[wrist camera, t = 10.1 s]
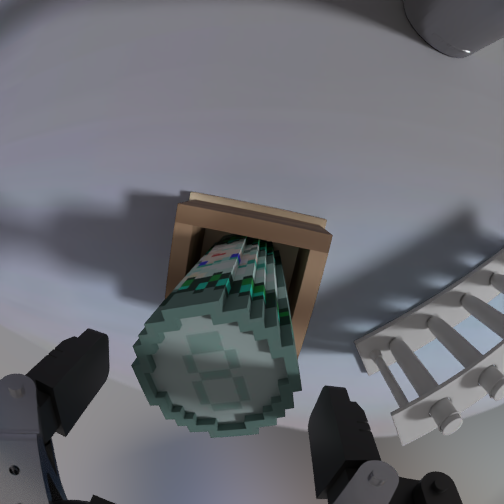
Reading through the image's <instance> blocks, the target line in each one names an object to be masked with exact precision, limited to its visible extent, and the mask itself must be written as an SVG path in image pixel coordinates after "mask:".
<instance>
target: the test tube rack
mask: <svg viewBox="0 0 504 504" xmlns="http://www.w3.org/2000/svg"><path fill="white" fill-rule="evenodd" d="M500 293H503V294H504V248H503V249H501V250H500V251H499V252H497V253H496V254H495V255H493V256H492V257H491V258H489V259H488V260H487V261H485V262H484V263H483V264H481V265H480V266H478V267H477V268H476V269H474V270H473V271H471V272H470V273H468V274H467V275H466V276H464V277H463V278H461V279H460V280H458V281H457V282H455V283H454V284H452V285H451V286H449V287H448V288H446V289H444V290H443V291H441V292H440V293H438V294H437V295H435V296H433V297H432V298H430V299H429V300H427V301H425V302H424V303H422V304H420V305H419V306H417V307H415V308H414V309H412V310H410V311H409V312H407V313H405V314H403V315H402V316H400V317H398V318H396V319H395V320H393V321H391V322H389V323H387V324H386V325H384V326H382V327H380V328H378V329H376V330H374V331H373V332H371V333H369V334H367V335H365V336H363V337H361V338H359V339H357V340H355V341H354V343H355V346H356V348H357V350H358V352H359V355H360V357H361V359H362V362H363V364H364V367H365V369H366V371H367V373H368V375H369V376H370V375H372V374H374V373H376V372H378V371H380V372H381V374H382V375H383V377H384V379H385V381H386V383H387V385H388V386H389V388H390V390H391V392H392V394H393V396H394V398H395V399H396V401H397V403H398V405H399V407H400V408H398V409H396V410H395V411H393V412H391V416H392V419H393V421H394V424H395V427H396V430H397V433H398V436H399V439H400V441H401V444H402V446H404V445H406V444H408V443H410V442H412V441H414V440H415V439H418V438H419V437H421V436H423V435H425V434H427V433H428V432H430V431H432V430H434V429H435V428H437V427H438V429H439V431H440V432H442V433H443V434H444V435H449V434H452V433H453V432H455V431H456V430H457V429H459V427H460V426H461V425H462V423H463V419H462V418H461V414H460V413H461V412H463V411H464V410H466V409H467V408H469V407H470V406H472V405H473V404H474V403H476V402H477V401H479V400H480V399H481V398H483V397H484V396H486V395H487V394H489V396H490V398H494V400H495V401H498V400H500V399H502V398H503V397H504V340H502V341H501V342H500V343H499V344H497V345H496V346H495V347H493V348H492V349H491V350H490V351H488V352H487V353H486V354H484V355H482V354H481V353H480V352H479V351H478V350H477V349H476V348H475V347H474V346H472V345H471V344H470V343H469V342H468V341H467V340H466V339H465V338H464V337H462V336H461V335H460V334H459V333H458V332H457V331H456V330H455V329H453V327H454V326H456V325H457V324H459V323H460V322H462V321H463V320H465V319H466V318H468V317H469V316H470V315H472V316H474V317H475V318H476V319H478V320H479V321H480V322H482V323H483V324H484V325H486V326H487V327H488V328H490V329H491V330H492V331H493V332H495V333H496V334H497V335H499V336H500V337H501V338H502V339H504V314H502V313H501V312H499V311H497V310H496V309H494V308H493V307H491V306H490V305H488V304H487V303H488V302H489V301H491V300H492V299H493V298H495V297H496V296H497V295H498V294H500ZM436 338H437V339H438V340H439V341H440V342H441V343H442V344H443V345H444V346H445V347H446V348H447V349H448V351H449V352H450V353H451V354H452V355H453V356H454V357H455V358H456V359H457V360H458V361H459V362H460V363H461V364H462V365H463V366H464V367H465V369H463V370H462V371H460V372H459V373H457V374H456V375H454V376H453V377H451V378H450V379H448V380H447V381H445V382H444V383H442V384H440V385H438V384H437V382H436V381H435V380H434V378H433V377H432V376H431V374H430V373H429V372H428V370H427V369H426V368H425V367H424V365H423V364H422V363H421V361H420V360H419V359H418V358H417V356H416V355H415V354H414V351H416V350H418V349H420V348H421V347H423V346H425V345H426V344H428V343H429V342H431V341H433V340H434V339H436ZM395 362H397V363H398V364H399V366H400V367H401V369H402V370H403V372H404V373H405V375H406V376H407V378H408V380H409V381H410V383H411V384H412V386H413V387H414V389H415V390H416V392H417V394H418V395H419V398H417V399H415V400H413V401H411V402H410V403H409V402H408V400H407V398H406V397H405V395H404V393H403V391H402V390H401V388H400V386H399V385H398V383H397V381H396V380H395V378H394V376H393V375H392V373H391V371H390V370H389V368H388V366H389V365H391V364H393V363H395ZM493 364H494V365H495V366H494V365H493ZM479 384H480V385H479ZM448 398H449V399H450V400H449V399H448ZM429 413H430V414H431V415H430V414H429Z"/></svg>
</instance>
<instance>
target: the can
mask: <svg viewBox="0 0 504 504" xmlns="http://www.w3.org/2000/svg"><path fill="white" fill-rule="evenodd" d="M144 325H145V328H144V329H143V330H142V331H141V333H140V334H139V335H138V336H139V339H138V340H137V341H136V343H135V344H134V345H133V348H134V351H135V353H136V356H137V358H136V359H135V361H134V362H133V364H132V365H131V366H132V368H133V370H134V372H135V375H136V377H137V379H138V381H139V383H140V385H141V388H142V390H143V392H144V394H145V396H146V398H147V400H148V402H149V404H150V405H159V407H160V409H161V411H162V413H163V415H164V417H165V419H175V421H176V423H177V425H178V426H187V427H188V429H189V431H190V432H207V431H208V432H209V434H210V436H211V438H214V437H228V436H242V435H252V434H259V427H264V426H273V425H277V418H280V417H285V409H290V408H294V401H293V392H296V391H302V387H301V380H300V373H299V366H298V359H297V352H296V346H295V339H294V333H293V326H292V320H291V314H290V307H289V301H288V295H287V289H286V283H285V277H284V271H283V267H282V262H281V257H280V252H279V250H277V251H274V248H273V243H272V241H270V242H267V240H262V239H257V238H252V237H247V236H243V235H238V234H229V235H225V236H223V237H222V238H221V240H220V241H219V242H216V243H214V245H213V246H212V247H211V248H210V249H209V250H208V251H207V252H206V254H205V255H204V256H203V257H202V258H201V259H200V260H199V261H198V263H197V264H196V265H195V266H194V267H193V268H192V269H191V270H190V272H189V273H188V274H187V275H186V276H185V277H184V278H183V280H182V281H181V282H180V283H179V284H178V285H177V286H176V288H175V289H174V290H173V291H172V292H171V293H170V294H169V296H168V297H167V298H166V299H165V300H164V301H163V303H162V304H161V305H160V306H159V307H158V308H157V310H156V311H155V312H154V313H153V314H152V315H151V317H150V318H149V319H148V320H147V321H146V322H145V324H144Z"/></svg>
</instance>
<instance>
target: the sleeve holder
mask: <svg viewBox="0 0 504 504" xmlns="http://www.w3.org/2000/svg"><path fill="white" fill-rule="evenodd" d="M326 222H327V220H326V219H323V218H319V217H314V216H310V215H305V214H301V213H297V212H292V211H287V210H283V209H278V208H273V207H269V206H264V205H259V204H254V203H249V202H244V201H239V200H234V199H229V198H224V197H219V196H213V195H208V194H203V193H197V192H191V193H190V199H189V201H187V202H182V203H178V206H177V213H176V219H175V225H174V232H173V238H172V245H171V253H170V260H169V268H168V276H167V284H166V293H165V299H166V298H167V297H168V296H169V294H170V293H171V292H172V291H173V290H174V289H175V288H176V286H177V285H178V284H179V283H180V282H181V281H182V280H183V278H184V277H185V276H186V275H187V274H188V273H189V272H190V270H191V269H192V268H193V267H194V266H195V265H196V264H197V263H198V261H199V260H200V259H201V258H202V257H203V256H204V255H205V254H206V252H207V251H208V250H209V249H210V248H211V247H212V246H213V245H214V243H216V242H219V241H220V240H221V238H222V237H223V236H225V235H229V234H238V235H243V236H247V237H252V238H257V239H262V240H267V242H270V241H272V243H273V248H274V251H277V250H279V252H280V257H281V262H282V267H283V271H284V277H285V283H286V289H287V295H288V301H289V307H290V314H291V320H292V326H293V333H294V339H295V346H296V352H297V359H298V356H299V353H300V350H301V347H302V344H303V341H304V337H305V334H306V331H307V328H308V324H309V321H310V318H311V314H312V311H313V307H314V304H315V300H316V297H317V293H318V290H319V286H320V282H321V279H322V275H323V271H324V267H325V264H326V260H327V256H328V252H329V248H330V244H331V240H332V236H333V235H331V234H330V233H329V232H328V231H326V230H325V226H326Z"/></svg>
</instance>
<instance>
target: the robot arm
mask: <svg viewBox="0 0 504 504" xmlns="http://www.w3.org/2000/svg"><path fill="white" fill-rule="evenodd" d="M404 9H405V13H406V15H407V17H408V20H409V21H410V23H411V24H412V26H413V27H414V29H415V30H416V31H417V32H418V34H419V35H420V36H421V37H422V38H423V39H424V40H425V41H426V42H427V43H429V44H430V45H431V46H433V47H434V48H435V49H437V50H439V51H440V52H442V53H444V54H446V55H449V56H452V57H456V58H464V57H467V56H469V55H471V54H473V53H475V52H477V51H478V50H480V49H482V48H484V47H486V46H488V45H490V44H492V43H494V42H496V41H497V40H499V39H501V38H503V37H504V0H404ZM108 374H109V340H108V336H107V335H106V334H104V333H101V332H98V331H95V330H92V329H87V330H86V331H85V332H83V333H82V334H81V335H80V336H79V337H78V338H77V337H75V336H74V337H71V338H69V339H66V340H64V341H62V342H61V343H60V344H59V345H58V346H57V347H55V350H54V349H53V350H52V351H51V352H50V353H49V355H47V356H46V357H44V358H43V359H42V360H41V361H40V362H39V363H38V364H37V365H36V366H35V367H34V368H32V369H31V370H30V371H29V372H28V373H27V374H26V375H23V374H10V375H7V376H5V377H4V378H3V379H1V380H0V504H115V503H112V502H110V501H107V500H105V499H103V498H100V497H98V496H95V495H93V497H92V499H91V501H90V502H88V501H81V500H68V499H67V497H66V494H65V492H64V489H63V486H62V483H61V480H60V476H59V471H58V467H57V462H56V458H55V453H54V447H53V443H52V438H51V437H52V436H53V434H54V433H55V432H57V433H59V434H61V435H63V436H65V437H66V436H67V435H68V433H69V432H70V430H71V429H72V428H73V426H74V425H75V423H76V422H77V420H78V419H79V417H80V416H81V415H82V413H83V412H84V411H85V409H86V408H87V406H88V405H89V404H90V402H91V401H92V399H93V398H94V397H95V395H96V394H97V393H98V391H99V390H100V388H101V387H102V386H103V384H104V383H105V382H106V380H107V377H108ZM367 422H368V421H367V418H366V415H365V412H364V410H363V409H362V408H361V407H360V406H359V405H358V404H357V403H356V402H351V401H350V399H349V396H348V393H347V390H346V388H343V387H334V386H324V387H323V389H322V391H321V393H320V395H319V398H318V400H317V402H316V404H315V407H314V409H313V411H312V413H311V415H310V419H309V424H308V432H309V440H310V448H311V456H312V463H313V472H314V482H315V491H316V498H317V499H328V504H462V501H461V499H460V496H459V493H458V491H457V488H456V486H455V484H454V482H453V480H452V479H451V478H450V477H449V476H448V475H446V474H444V473H442V472H430V473H428V474H426V475H425V476H424V477H423V478H422V479H421V480H413V479H407V478H402V477H399V476H398V473H397V471H396V470H395V469H394V468H393V467H392V466H390V465H389V464H387V463H385V462H382V461H381V458H380V455H379V452H378V450H377V447H376V444H375V441H374V438H373V435H372V432H370V430H371V429H370V426H369V423H367Z"/></svg>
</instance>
